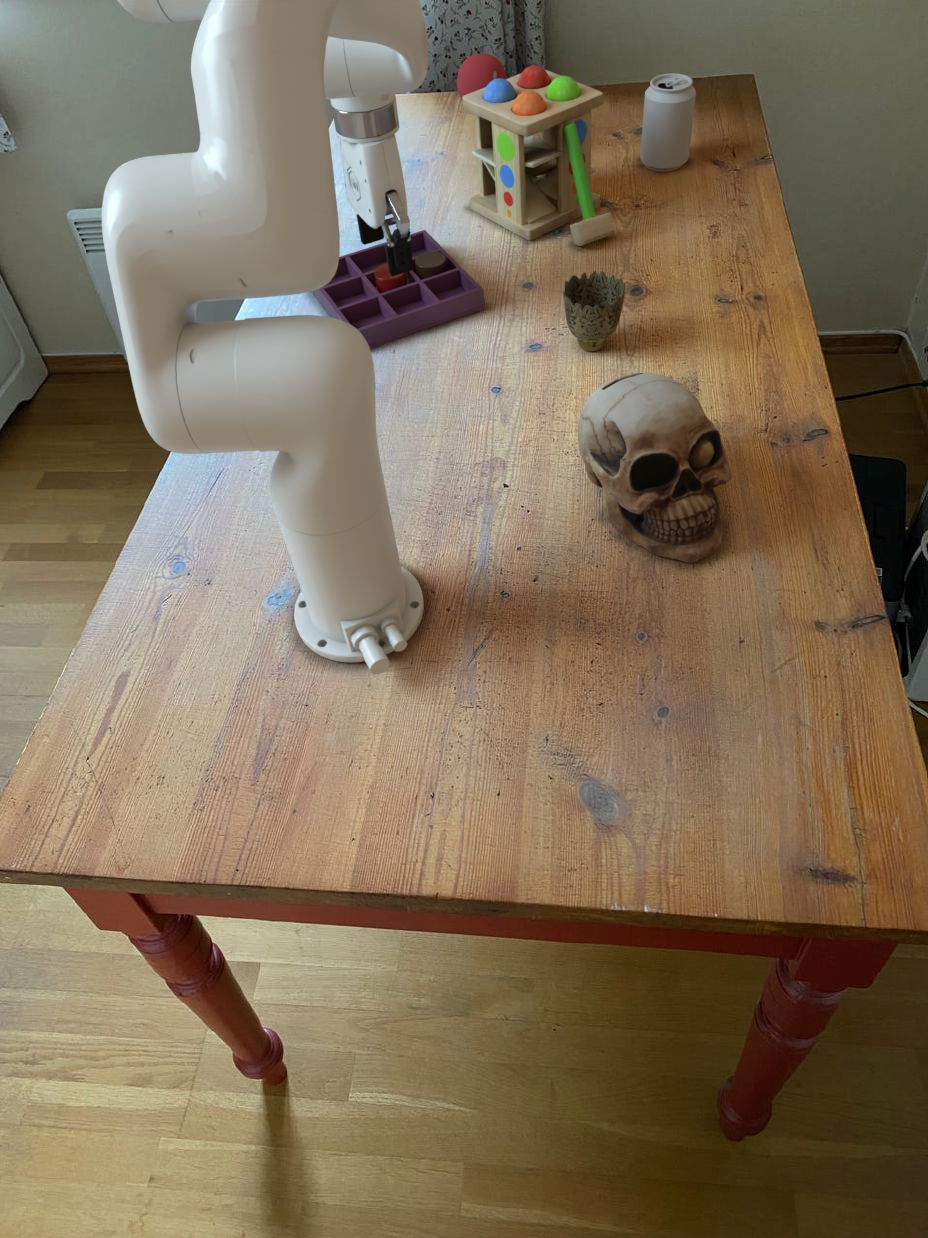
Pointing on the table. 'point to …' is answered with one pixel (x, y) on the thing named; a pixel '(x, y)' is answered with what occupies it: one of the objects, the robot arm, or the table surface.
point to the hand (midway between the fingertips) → (386, 256)
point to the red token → (388, 279)
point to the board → (398, 294)
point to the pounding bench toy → (537, 155)
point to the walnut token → (430, 264)
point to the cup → (593, 308)
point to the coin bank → (655, 464)
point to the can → (667, 122)
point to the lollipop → (478, 73)
